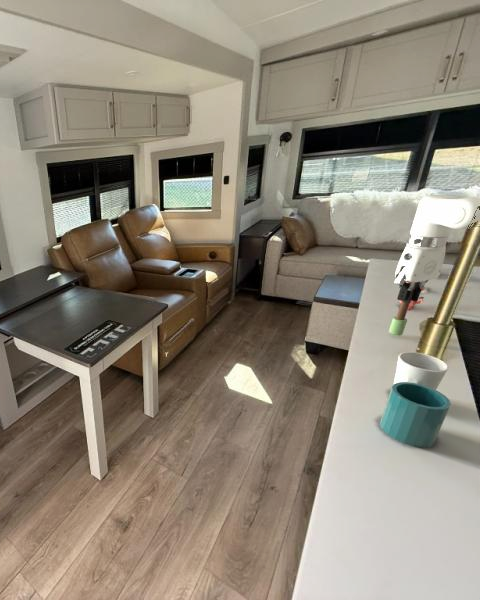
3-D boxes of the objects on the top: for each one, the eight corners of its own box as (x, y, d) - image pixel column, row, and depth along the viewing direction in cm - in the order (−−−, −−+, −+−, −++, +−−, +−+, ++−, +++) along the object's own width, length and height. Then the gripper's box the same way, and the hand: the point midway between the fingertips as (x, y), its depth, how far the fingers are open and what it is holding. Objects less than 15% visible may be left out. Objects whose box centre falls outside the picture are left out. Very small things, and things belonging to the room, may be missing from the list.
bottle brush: (399, 330, 101) (415, 281, 95) (404, 335, 99) (422, 285, 92) (386, 329, 103) (402, 281, 96) (391, 334, 100) (408, 285, 93)
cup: (379, 399, 79) (392, 359, 75) (394, 387, 82) (407, 348, 78) (422, 418, 73) (439, 376, 68) (437, 405, 76) (454, 363, 71)
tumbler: (418, 424, 71) (434, 384, 67) (442, 454, 64) (462, 412, 60) (372, 417, 74) (384, 379, 70) (390, 445, 67) (404, 405, 63)
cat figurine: (397, 302, 123) (406, 273, 118) (422, 307, 118) (432, 277, 113) (392, 308, 119) (401, 278, 115) (417, 313, 114) (428, 282, 109)
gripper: (418, 248, 84) (398, 309, 92) (466, 239, 86) (443, 300, 94) (388, 242, 91) (372, 300, 98) (434, 234, 93) (414, 292, 100)
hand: (407, 300), depth 96 cm, fingers closed on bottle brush
